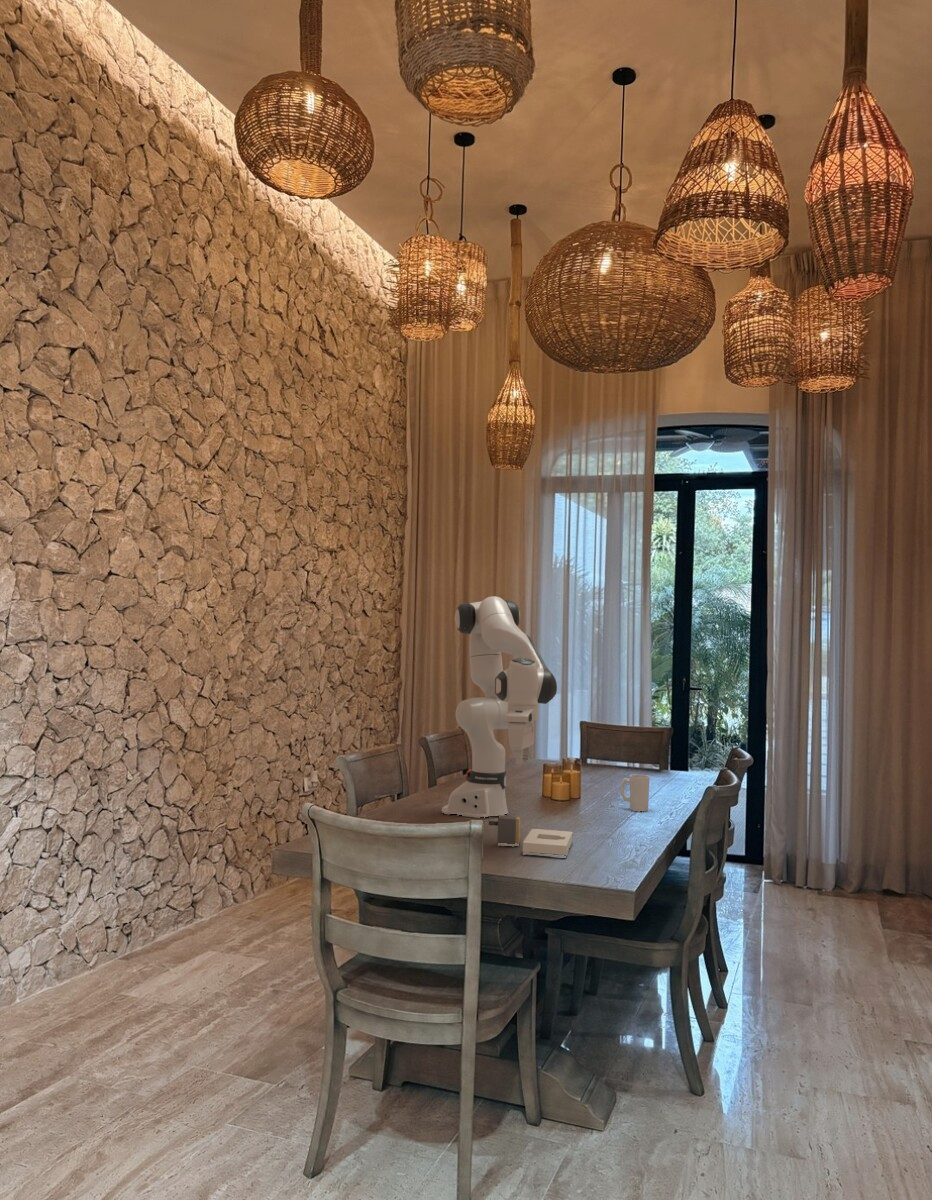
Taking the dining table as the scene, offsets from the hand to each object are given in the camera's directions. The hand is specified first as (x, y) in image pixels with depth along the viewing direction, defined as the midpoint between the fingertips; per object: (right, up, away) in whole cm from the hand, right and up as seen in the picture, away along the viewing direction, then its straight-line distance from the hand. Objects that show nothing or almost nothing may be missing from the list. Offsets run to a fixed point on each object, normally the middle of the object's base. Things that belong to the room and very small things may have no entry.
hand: (522, 763), depth 260 cm
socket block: (+7, -24, -3) cm, 25 cm away
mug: (+43, -27, +58) cm, 77 cm away
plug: (-4, -24, +1) cm, 24 cm away
